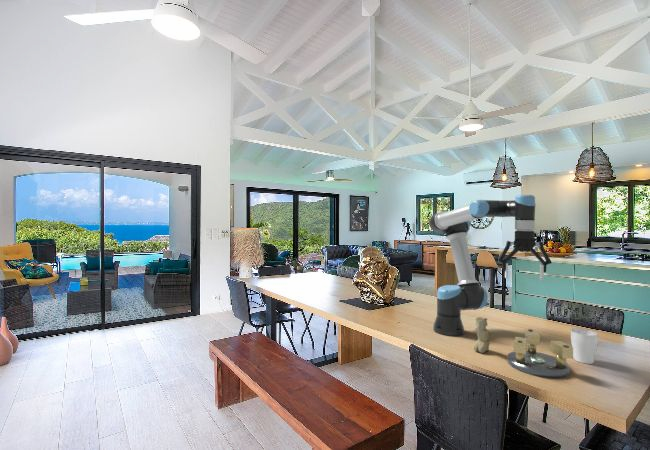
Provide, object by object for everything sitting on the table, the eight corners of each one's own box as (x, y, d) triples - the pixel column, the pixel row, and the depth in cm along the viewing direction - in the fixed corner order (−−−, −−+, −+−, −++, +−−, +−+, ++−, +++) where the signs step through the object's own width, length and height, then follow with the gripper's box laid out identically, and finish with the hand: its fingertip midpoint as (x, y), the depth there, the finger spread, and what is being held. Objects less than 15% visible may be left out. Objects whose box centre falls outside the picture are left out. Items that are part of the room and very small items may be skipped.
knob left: (515, 357, 139) (515, 335, 139) (526, 360, 137) (527, 337, 137) (513, 363, 133) (514, 340, 133) (525, 366, 131) (525, 343, 131)
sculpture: (471, 350, 153) (471, 317, 152) (480, 347, 156) (481, 314, 156) (483, 355, 148) (483, 320, 147) (492, 351, 152) (493, 317, 151)
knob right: (549, 362, 134) (550, 340, 134) (560, 362, 134) (560, 340, 134) (562, 370, 127) (562, 346, 127) (572, 370, 127) (573, 346, 127)
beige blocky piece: (539, 356, 141) (540, 334, 140) (528, 355, 142) (529, 333, 142) (534, 350, 147) (535, 329, 147) (524, 349, 148) (524, 328, 148)
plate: (513, 373, 130) (513, 365, 130) (502, 352, 150) (503, 346, 150) (578, 381, 124) (578, 373, 124) (558, 359, 144) (558, 352, 144)
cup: (564, 356, 146) (565, 328, 146) (584, 356, 147) (585, 328, 147) (582, 365, 137) (583, 336, 137) (603, 365, 138) (603, 335, 138)
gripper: (554, 230, 149) (553, 279, 150) (491, 229, 157) (491, 275, 157) (560, 231, 142) (559, 282, 142) (494, 230, 150) (493, 278, 150)
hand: (523, 278), depth 150 cm, fingers open, 13 cm apart
